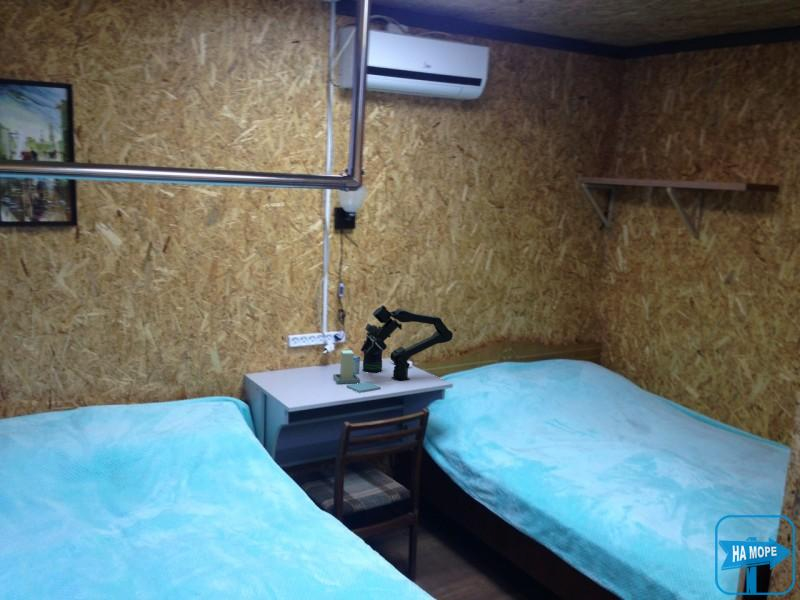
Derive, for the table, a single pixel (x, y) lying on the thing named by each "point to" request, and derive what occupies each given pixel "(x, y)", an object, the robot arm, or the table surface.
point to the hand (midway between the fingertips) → (363, 353)
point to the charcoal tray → (348, 381)
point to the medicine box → (356, 364)
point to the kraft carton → (346, 365)
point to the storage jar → (372, 362)
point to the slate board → (363, 387)
